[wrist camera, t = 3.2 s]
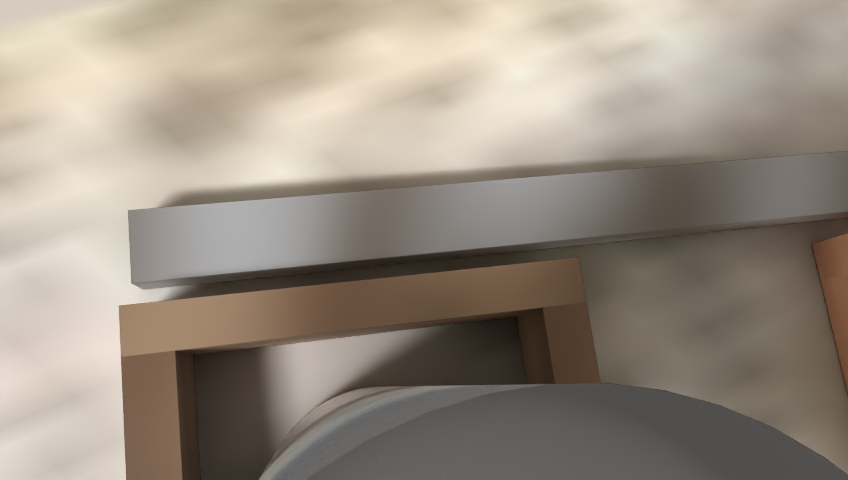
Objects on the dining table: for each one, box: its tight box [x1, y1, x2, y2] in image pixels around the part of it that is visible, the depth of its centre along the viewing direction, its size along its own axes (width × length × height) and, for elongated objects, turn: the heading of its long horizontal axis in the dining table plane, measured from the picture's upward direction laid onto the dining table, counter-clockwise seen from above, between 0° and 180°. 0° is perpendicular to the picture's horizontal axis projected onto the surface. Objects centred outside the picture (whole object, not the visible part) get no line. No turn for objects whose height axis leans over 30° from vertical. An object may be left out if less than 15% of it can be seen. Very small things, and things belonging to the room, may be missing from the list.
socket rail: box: [119, 151, 848, 480], centre depth 16 cm, size 27×12×2 cm, turn 97°
